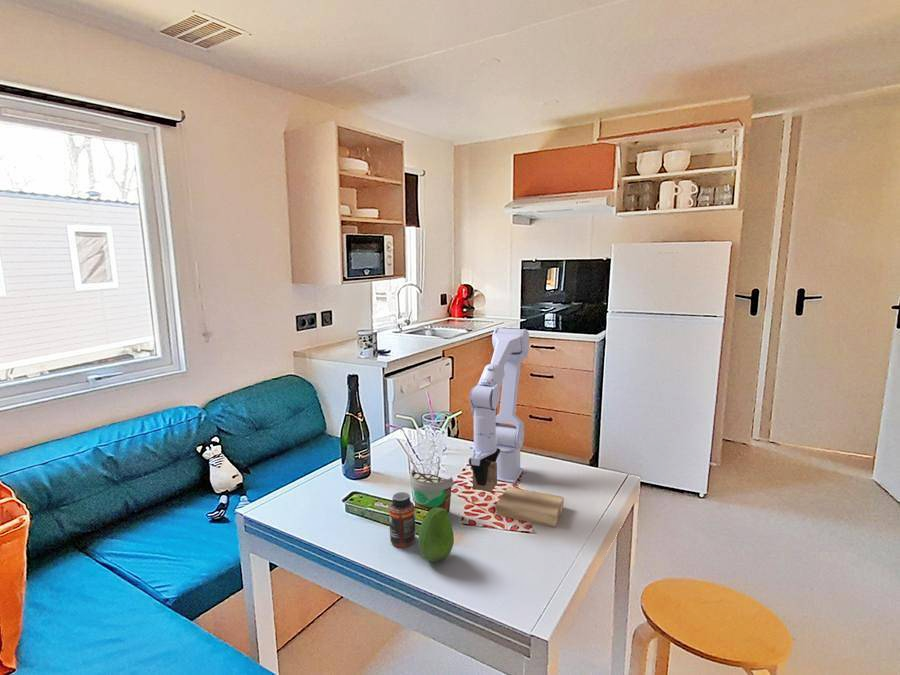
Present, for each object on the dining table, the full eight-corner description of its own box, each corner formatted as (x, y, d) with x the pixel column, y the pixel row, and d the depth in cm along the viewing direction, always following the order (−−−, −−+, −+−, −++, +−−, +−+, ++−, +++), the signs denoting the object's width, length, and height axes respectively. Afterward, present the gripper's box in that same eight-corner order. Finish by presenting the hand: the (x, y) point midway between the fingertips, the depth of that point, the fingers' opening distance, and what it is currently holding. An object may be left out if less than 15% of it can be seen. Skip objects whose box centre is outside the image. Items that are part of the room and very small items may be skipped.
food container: (401, 513, 127) (399, 477, 125) (413, 502, 132) (412, 467, 131) (443, 525, 121) (442, 487, 120) (454, 513, 127) (454, 477, 125)
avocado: (461, 561, 107) (460, 510, 105) (430, 574, 103) (428, 522, 101) (441, 543, 114) (440, 495, 112) (411, 555, 110) (410, 505, 108)
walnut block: (479, 480, 133) (479, 459, 132) (497, 483, 131) (497, 462, 130) (472, 488, 129) (472, 467, 128) (490, 492, 127) (490, 470, 126)
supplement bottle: (420, 537, 117) (419, 492, 115) (407, 551, 111) (405, 504, 109) (398, 531, 119) (397, 487, 117) (385, 544, 114) (383, 499, 112)
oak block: (508, 496, 135) (508, 486, 134) (563, 507, 129) (563, 496, 128) (496, 514, 126) (496, 504, 125) (555, 527, 120) (555, 515, 119)
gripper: (480, 420, 136) (480, 466, 138) (459, 439, 123) (460, 489, 125) (504, 423, 133) (504, 470, 135) (486, 443, 120) (486, 494, 122)
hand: (485, 480), depth 130 cm, fingers closed on walnut block, 5 cm apart
